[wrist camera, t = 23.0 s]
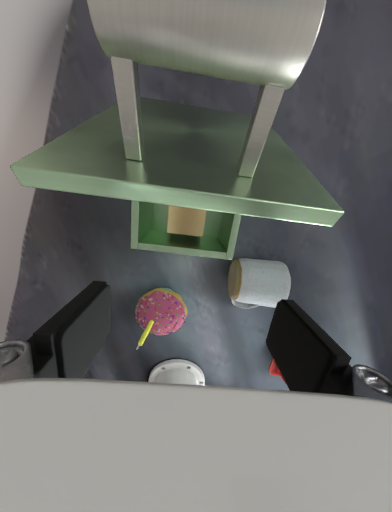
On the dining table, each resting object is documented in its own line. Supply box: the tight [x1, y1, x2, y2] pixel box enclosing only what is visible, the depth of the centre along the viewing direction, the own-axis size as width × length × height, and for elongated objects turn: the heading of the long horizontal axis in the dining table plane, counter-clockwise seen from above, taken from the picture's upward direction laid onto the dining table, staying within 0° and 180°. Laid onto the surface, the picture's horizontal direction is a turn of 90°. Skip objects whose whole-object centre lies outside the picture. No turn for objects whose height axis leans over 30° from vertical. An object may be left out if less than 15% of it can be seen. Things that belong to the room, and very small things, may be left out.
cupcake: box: [135, 287, 187, 349], centre depth 29 cm, size 9×8×12 cm
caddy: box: [131, 200, 242, 260], centre depth 25 cm, size 15×13×9 cm
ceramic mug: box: [228, 258, 291, 308], centre depth 31 cm, size 11×8×8 cm
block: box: [167, 205, 207, 237], centre depth 27 cm, size 5×5×5 cm
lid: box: [10, 0, 344, 226], centre depth 11 cm, size 16×13×6 cm
